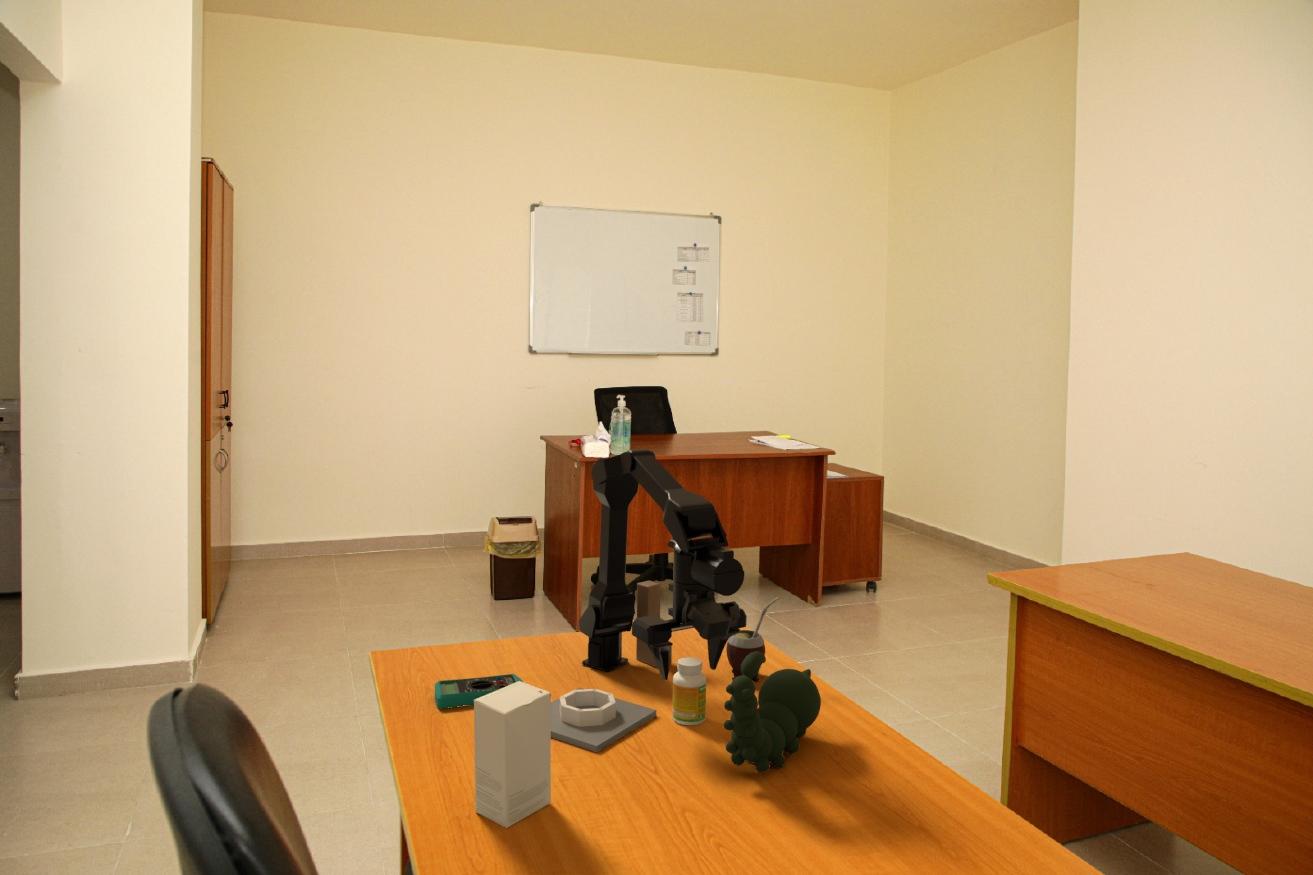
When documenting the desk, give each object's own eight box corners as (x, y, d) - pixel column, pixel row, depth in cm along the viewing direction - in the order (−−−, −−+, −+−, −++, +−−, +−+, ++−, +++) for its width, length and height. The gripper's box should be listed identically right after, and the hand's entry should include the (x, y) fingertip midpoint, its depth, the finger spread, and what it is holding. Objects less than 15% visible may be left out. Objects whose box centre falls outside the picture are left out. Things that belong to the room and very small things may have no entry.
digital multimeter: (526, 703, 154) (526, 686, 154) (436, 712, 149) (436, 695, 149) (519, 687, 161) (519, 671, 160) (433, 695, 156) (433, 679, 156)
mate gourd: (717, 675, 166) (719, 595, 164) (747, 665, 171) (749, 588, 169) (748, 688, 160) (750, 605, 159) (777, 677, 166) (779, 597, 164)
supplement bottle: (702, 728, 144) (704, 668, 143) (669, 724, 145) (670, 665, 144) (707, 714, 149) (708, 657, 148) (675, 711, 150) (676, 654, 149)
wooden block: (635, 659, 174) (636, 583, 172) (648, 655, 176) (649, 580, 174) (659, 669, 169) (660, 590, 167) (671, 664, 171) (673, 587, 169)
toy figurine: (769, 805, 124) (837, 724, 144) (767, 675, 120) (837, 612, 141) (708, 786, 129) (783, 711, 149) (705, 661, 125) (782, 602, 146)
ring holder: (579, 693, 157) (579, 673, 157) (656, 715, 148) (656, 695, 148) (516, 725, 144) (516, 704, 143) (596, 752, 135) (596, 730, 134)
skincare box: (520, 788, 124) (520, 678, 122) (554, 805, 120) (554, 691, 118) (472, 813, 117) (471, 697, 116) (506, 831, 113) (505, 711, 112)
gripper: (668, 601, 133) (666, 703, 135) (769, 584, 142) (766, 680, 144) (630, 582, 142) (629, 678, 144) (727, 568, 152) (725, 658, 154)
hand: (689, 674), depth 146 cm, fingers open, 9 cm apart
